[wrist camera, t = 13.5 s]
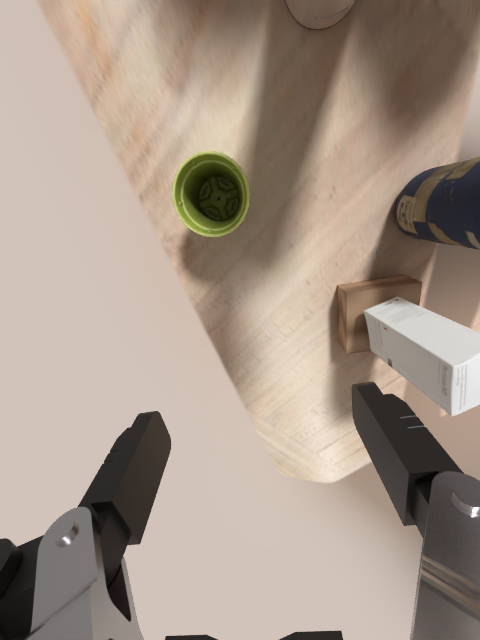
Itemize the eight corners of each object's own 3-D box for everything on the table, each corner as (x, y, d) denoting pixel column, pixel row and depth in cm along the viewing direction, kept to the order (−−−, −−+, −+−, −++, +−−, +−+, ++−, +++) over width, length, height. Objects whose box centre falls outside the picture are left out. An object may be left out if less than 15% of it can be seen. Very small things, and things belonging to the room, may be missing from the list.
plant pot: (234, 242, 40) (231, 249, 32) (179, 216, 39) (162, 217, 31) (260, 182, 37) (263, 174, 29) (200, 151, 36) (187, 134, 28)
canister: (472, 193, 36) (655, 180, 20) (421, 250, 40) (542, 278, 23) (426, 153, 35) (585, 102, 18) (376, 216, 38) (473, 220, 22)
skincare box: (362, 309, 38) (449, 364, 25) (399, 294, 38) (508, 340, 24) (370, 352, 42) (450, 420, 28) (404, 338, 41) (502, 399, 28)
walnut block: (336, 284, 43) (346, 293, 39) (403, 274, 42) (422, 282, 37) (337, 339, 47) (346, 353, 43) (397, 332, 46) (414, 345, 42)
